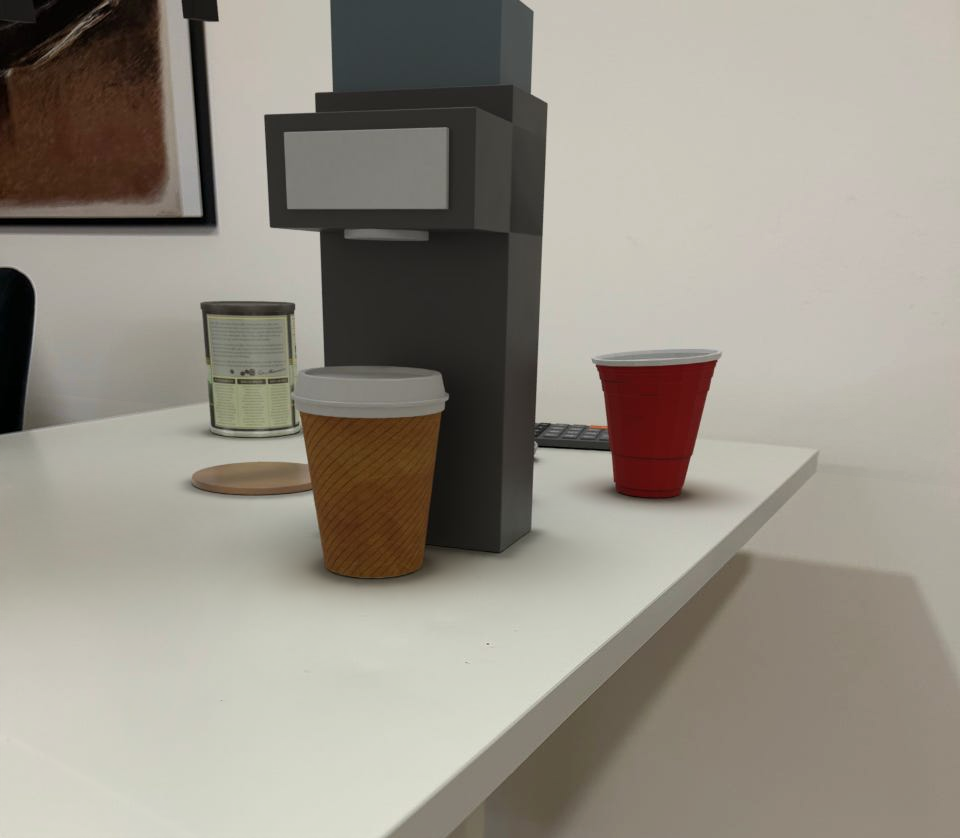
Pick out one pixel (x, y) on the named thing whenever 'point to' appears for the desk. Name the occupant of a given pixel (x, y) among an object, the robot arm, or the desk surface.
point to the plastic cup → (654, 415)
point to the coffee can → (251, 367)
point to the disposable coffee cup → (371, 463)
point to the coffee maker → (432, 231)
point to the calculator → (572, 435)
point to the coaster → (254, 478)
